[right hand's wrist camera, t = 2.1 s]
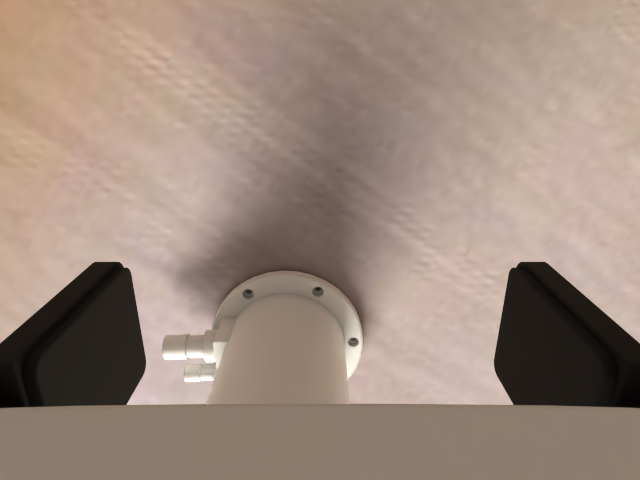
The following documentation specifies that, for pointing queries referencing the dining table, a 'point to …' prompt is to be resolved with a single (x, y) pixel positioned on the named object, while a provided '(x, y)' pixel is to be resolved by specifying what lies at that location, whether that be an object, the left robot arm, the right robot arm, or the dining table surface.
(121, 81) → the dining table surface
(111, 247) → the dining table surface
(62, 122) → the dining table surface
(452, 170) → the dining table surface
